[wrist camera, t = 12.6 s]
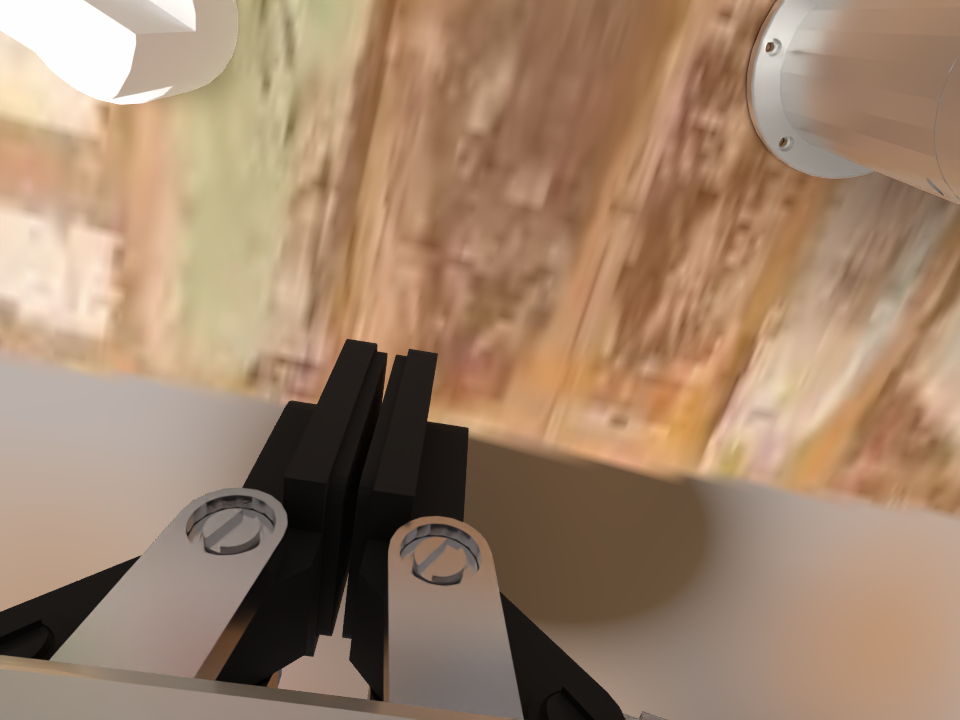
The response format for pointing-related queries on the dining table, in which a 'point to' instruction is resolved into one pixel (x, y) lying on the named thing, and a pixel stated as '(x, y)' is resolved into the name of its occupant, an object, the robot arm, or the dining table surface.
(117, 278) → the dining table surface
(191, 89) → the cylinder with rectangular tab
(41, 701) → the robot arm
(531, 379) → the dining table surface
